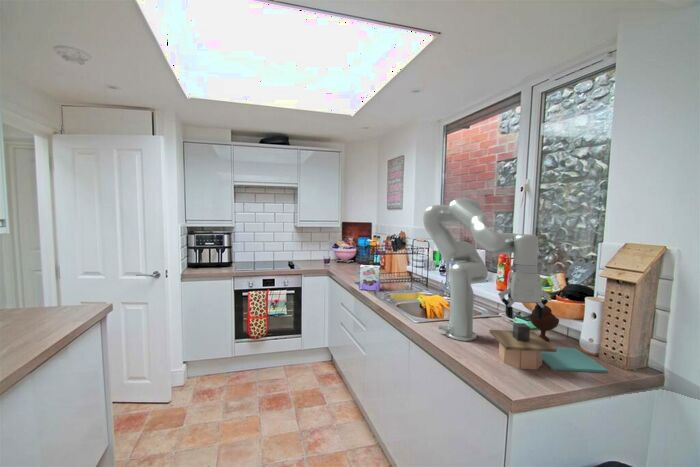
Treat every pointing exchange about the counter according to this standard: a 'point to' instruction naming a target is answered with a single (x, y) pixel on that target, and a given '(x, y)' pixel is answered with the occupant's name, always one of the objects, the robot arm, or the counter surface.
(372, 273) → the candy box
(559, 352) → the teal mat
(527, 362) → the terracotta bowl
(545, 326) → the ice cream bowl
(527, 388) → the counter surface
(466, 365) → the counter surface
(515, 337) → the walnut lid
